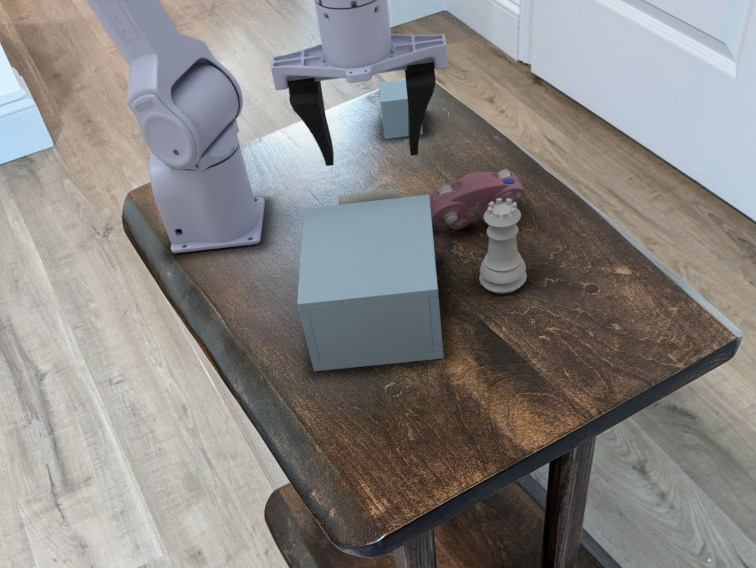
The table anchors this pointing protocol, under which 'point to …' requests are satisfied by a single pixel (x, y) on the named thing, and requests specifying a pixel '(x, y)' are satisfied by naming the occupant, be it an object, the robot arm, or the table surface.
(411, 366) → the table surface
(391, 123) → the ice block
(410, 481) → the table surface
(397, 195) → the freezer drawer
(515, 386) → the table surface
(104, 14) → the robot arm
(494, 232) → the rook chess piece
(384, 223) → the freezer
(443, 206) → the pink toy car
